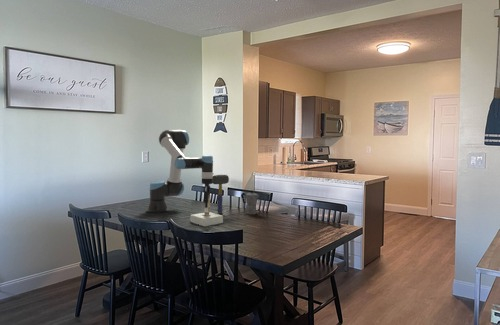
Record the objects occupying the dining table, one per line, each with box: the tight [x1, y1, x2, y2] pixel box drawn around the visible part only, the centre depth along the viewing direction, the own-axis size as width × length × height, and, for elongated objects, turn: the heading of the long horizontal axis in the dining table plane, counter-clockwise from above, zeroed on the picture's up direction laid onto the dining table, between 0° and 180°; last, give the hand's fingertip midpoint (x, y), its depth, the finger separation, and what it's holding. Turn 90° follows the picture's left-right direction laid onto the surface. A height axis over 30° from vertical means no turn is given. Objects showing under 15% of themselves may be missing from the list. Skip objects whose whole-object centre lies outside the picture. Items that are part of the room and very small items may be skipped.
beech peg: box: [203, 194, 211, 216], centre depth 255 cm, size 4×4×14 cm
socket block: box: [189, 211, 224, 227], centre depth 256 cm, size 16×16×5 cm
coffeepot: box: [240, 190, 260, 215], centre depth 289 cm, size 15×9×18 cm, turn 65°
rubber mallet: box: [212, 174, 230, 214], centre depth 287 cm, size 12×8×30 cm, turn 129°
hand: (206, 211), depth 256 cm, fingers closed on beech peg, 4 cm apart
